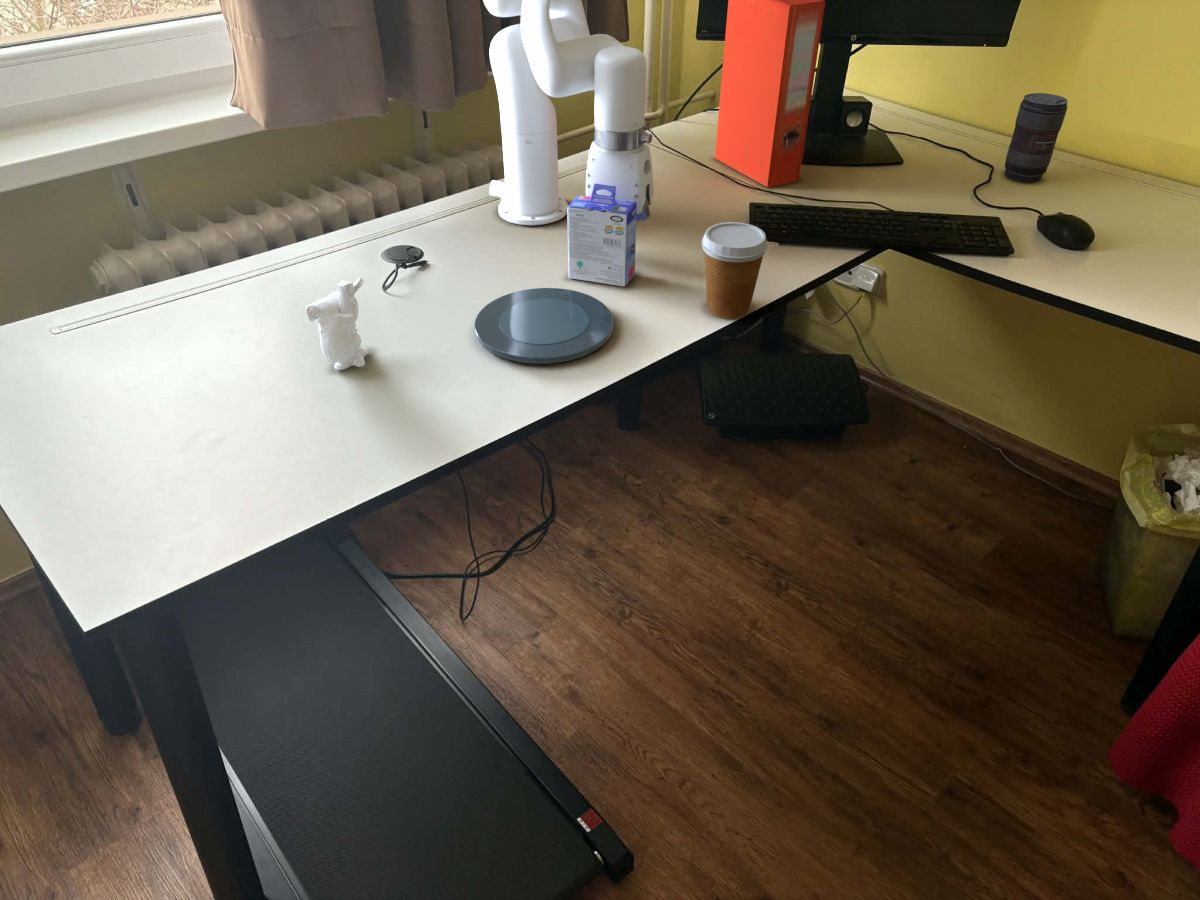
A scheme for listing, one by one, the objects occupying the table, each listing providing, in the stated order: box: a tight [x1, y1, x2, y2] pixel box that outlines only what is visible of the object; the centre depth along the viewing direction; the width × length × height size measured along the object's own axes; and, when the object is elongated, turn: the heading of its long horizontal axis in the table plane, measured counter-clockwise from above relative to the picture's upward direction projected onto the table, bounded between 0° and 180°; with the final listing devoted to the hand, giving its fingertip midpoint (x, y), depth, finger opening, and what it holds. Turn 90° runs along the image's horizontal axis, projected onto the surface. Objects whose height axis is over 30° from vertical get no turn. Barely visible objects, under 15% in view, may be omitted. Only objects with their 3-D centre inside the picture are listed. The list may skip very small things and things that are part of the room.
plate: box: [474, 287, 614, 365], centre depth 130 cm, size 20×20×2 cm
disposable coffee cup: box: [700, 221, 769, 320], centre depth 132 cm, size 10×10×12 cm
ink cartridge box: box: [566, 184, 637, 287], centre depth 139 cm, size 10×6×14 cm, turn 72°
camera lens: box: [1004, 92, 1069, 184], centre depth 171 cm, size 8×8×15 cm
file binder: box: [714, 0, 826, 189], centre depth 169 cm, size 8×17×32 cm, turn 29°
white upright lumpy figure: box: [305, 277, 370, 371], centre depth 120 cm, size 8×7×12 cm
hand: (617, 247), depth 147 cm, fingers closed
